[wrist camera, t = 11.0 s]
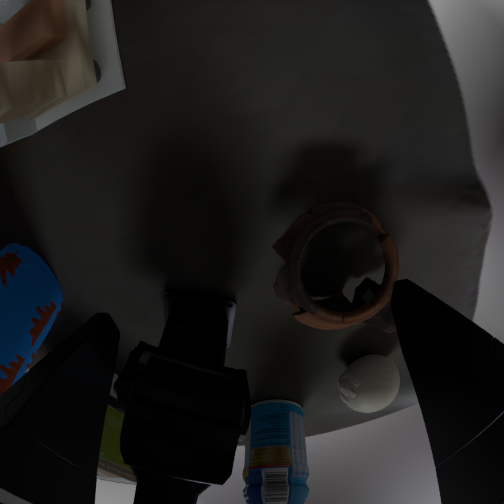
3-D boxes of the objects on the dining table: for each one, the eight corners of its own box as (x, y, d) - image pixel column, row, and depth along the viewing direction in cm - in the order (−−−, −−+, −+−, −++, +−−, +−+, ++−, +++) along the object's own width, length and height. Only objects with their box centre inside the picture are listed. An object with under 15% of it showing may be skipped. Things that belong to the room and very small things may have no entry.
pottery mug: (246, 280, 24) (243, 297, 16) (303, 188, 24) (327, 161, 16) (355, 345, 25) (392, 381, 16) (405, 260, 24) (458, 265, 16)
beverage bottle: (315, 405, 36) (327, 532, 19) (278, 424, 39) (281, 535, 22) (268, 391, 33) (269, 538, 16) (234, 412, 37) (226, 535, 20)
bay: (140, 83, 15) (104, 83, 11) (31, 134, 17) (-9, 151, 12) (120, -44, 9) (89, -66, 5) (16, 21, 10) (-22, 21, 6)
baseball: (343, 343, 28) (355, 396, 22) (399, 342, 28) (416, 388, 23) (326, 377, 32) (333, 424, 26) (377, 375, 32) (388, 418, 26)
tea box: (118, 414, 42) (100, 480, 29) (73, 385, 38) (47, 454, 25) (164, 401, 36) (146, 489, 24) (109, 366, 32) (76, 460, 20)
